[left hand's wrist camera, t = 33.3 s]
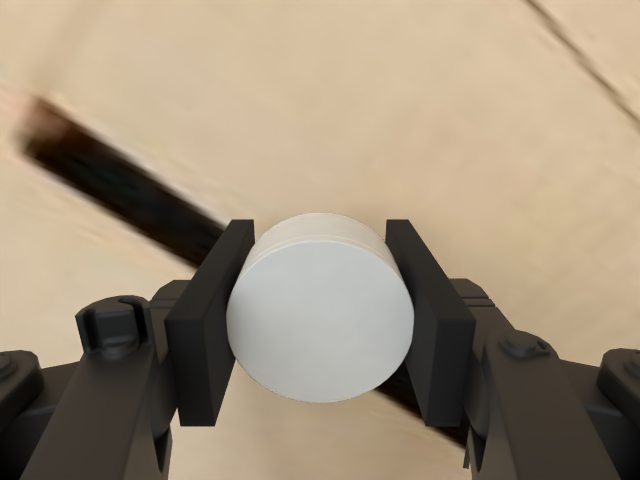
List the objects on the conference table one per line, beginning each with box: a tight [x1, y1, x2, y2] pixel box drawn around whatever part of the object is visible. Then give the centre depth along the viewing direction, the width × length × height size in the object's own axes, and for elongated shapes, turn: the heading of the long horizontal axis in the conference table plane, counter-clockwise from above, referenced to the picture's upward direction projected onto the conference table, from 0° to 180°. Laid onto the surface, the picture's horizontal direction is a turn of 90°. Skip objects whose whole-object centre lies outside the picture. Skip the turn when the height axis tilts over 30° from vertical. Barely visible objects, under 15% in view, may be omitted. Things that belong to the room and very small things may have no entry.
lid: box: [226, 212, 414, 403], centre depth 11 cm, size 5×5×2 cm
